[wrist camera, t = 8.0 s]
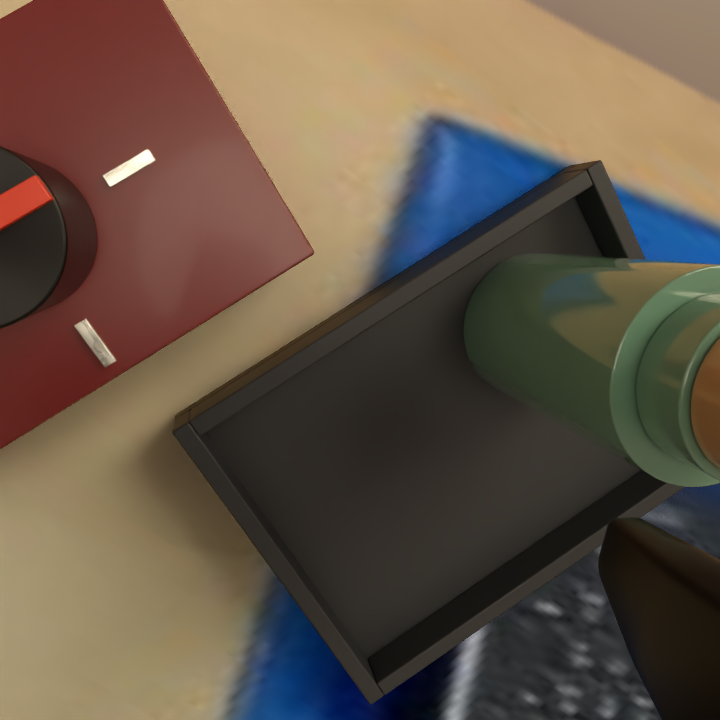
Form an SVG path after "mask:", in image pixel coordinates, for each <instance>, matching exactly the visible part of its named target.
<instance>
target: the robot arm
mask: <svg viewBox="0 0 720 720" xmlns="http://www.w3.org/2000/svg"><path fill="white" fill-rule="evenodd" d="M598 567H599V574H600V578H601V581H602V583H603V586H604V588H605V591H606V594H607V596H608V599H609V601H610V604H611V607H612V609H613V612H614V614H615V617H616V620H617V622H618V625H619V627H620V630H621V633H622V635H623V638H624V640H625V643H626V646H627V648H628V651H629V653H630V656H631V658H632V660H633V663H634V665H635V667H636V669H637V671H638V673H639V676H640V678H641V680H642V682H643V684H644V686H645V687H646V689H647V691H648V693H649V695H650V697H651V699H652V701H653V703H654V705H655V707H656V709H657V711H658V712H659V714H660V716H661V718H662V720H720V560H719V559H717V558H715V557H713V556H711V555H709V554H708V553H706V552H704V551H702V550H700V549H698V548H696V547H694V546H692V545H690V544H688V543H686V542H685V541H683V540H681V539H679V538H677V537H675V536H673V535H671V534H669V533H667V532H665V531H664V530H662V529H660V528H658V527H656V526H654V525H652V524H650V523H648V522H646V521H644V520H643V519H640V518H636V517H632V518H615V519H612V520H611V521H610V522H609V523H608V526H607V529H606V533H605V537H604V541H603V544H602V548H601V552H600V556H599V562H598Z"/></svg>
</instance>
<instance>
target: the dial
mask: <svg viewBox="0 0 720 720" xmlns="http://www.w3.org/2000/svg"><path fill="white" fill-rule="evenodd" d="M96 251H97V230H96V224H95V220H94V217H93V214H92V212H91V209H90V207H89V205H88V203H87V201H86V200H85V198H84V196H83V195H82V194H81V192H80V191H79V190H78V189H77V187H76V186H75V185H74V184H73V183H72V182H71V181H70V180H69V179H68V178H66V177H65V176H64V175H63V174H61V173H60V172H58V171H57V170H55V169H54V168H52V167H50V166H48V165H46V164H44V163H42V162H39V161H37V160H34V159H32V158H29V157H27V156H24V155H22V154H19V153H17V152H14V151H12V150H9V149H7V148H4V147H2V146H0V329H2V328H5V327H7V326H10V325H13V324H15V323H17V322H20V321H22V320H24V319H26V318H28V317H30V316H32V315H34V314H36V313H39V312H41V311H43V310H45V309H47V308H49V307H51V306H53V305H55V304H57V303H59V302H61V301H63V300H65V299H66V298H67V297H69V296H70V295H72V294H73V293H74V292H75V291H76V290H77V289H78V288H79V287H80V286H81V285H82V283H83V282H84V281H85V279H86V278H87V276H88V274H89V273H90V271H91V268H92V266H93V264H94V260H95V256H96Z"/></svg>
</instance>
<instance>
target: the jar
mask: <svg viewBox="0 0 720 720" xmlns="http://www.w3.org/2000/svg"><path fill="white" fill-rule="evenodd" d="M464 342H465V347H466V351H467V354H468V357H469V359H470V362H471V364H472V366H473V367H474V369H475V370H476V372H477V373H478V374H479V376H480V377H481V378H482V379H483V380H484V381H485V382H486V383H488V384H489V385H490V386H492V387H493V388H495V389H496V390H498V391H500V392H502V393H503V394H505V395H507V396H509V397H510V398H512V399H514V400H516V401H518V402H519V403H521V404H523V405H525V406H527V407H528V408H530V409H532V410H534V411H536V412H537V413H539V414H541V415H543V416H545V417H546V418H548V419H550V420H552V421H554V422H555V423H557V424H559V425H561V426H562V427H564V428H566V429H568V430H570V431H571V432H573V433H575V434H577V435H579V436H580V437H582V438H584V439H586V440H588V441H589V442H591V443H593V444H595V445H597V446H598V447H600V448H602V449H604V450H606V451H607V452H609V453H611V454H613V455H615V456H616V457H618V458H620V459H622V460H623V461H625V462H627V463H629V464H631V465H632V466H634V467H636V468H638V469H640V470H641V471H643V472H645V473H647V474H649V475H650V476H652V477H654V478H656V479H658V480H661V481H663V482H665V483H669V484H673V485H677V486H685V487H700V486H708V485H713V484H717V483H720V264H705V263H690V262H675V261H660V260H645V259H630V258H615V257H600V256H585V255H570V254H555V253H538V252H534V253H525V254H521V255H517V256H514V257H512V258H509V259H507V260H505V261H503V262H502V263H500V264H498V265H497V266H496V267H494V268H493V269H492V270H491V271H490V272H489V273H488V274H487V275H486V276H485V277H484V278H483V279H482V280H481V282H480V283H479V284H478V286H477V287H476V289H475V290H474V292H473V294H472V296H471V298H470V301H469V303H468V306H467V309H466V314H465V319H464Z"/></svg>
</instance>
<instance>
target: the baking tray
mask: <svg viewBox="0 0 720 720" xmlns="http://www.w3.org/2000/svg"><path fill="white" fill-rule="evenodd" d="M534 252H538V253H555V254H570V255H585V256H600V257H615V258H630V259H645V257H644V255H643V253H642V250H641V248H640V246H639V244H638V242H637V239H636V237H635V235H634V233H633V230H632V228H631V226H630V224H629V221H628V219H627V217H626V215H625V212H624V210H623V208H622V206H621V204H620V201H619V199H618V197H617V195H616V192H615V190H614V188H613V186H612V183H611V181H610V179H609V177H608V175H607V172H606V170H605V168H604V166H603V163H602V161H601V160H599V161H593V162H588V163H582V164H577V165H570V166H568V167H567V168H565V169H563V170H562V171H560V172H559V173H557V174H555V175H554V176H552V177H551V178H549V179H548V180H546V181H544V182H543V183H541V184H540V185H538V186H537V187H535V188H533V189H532V190H530V191H529V192H527V193H525V194H524V195H522V196H521V197H519V198H518V199H516V200H514V201H513V202H511V203H510V204H508V205H507V206H505V207H503V208H502V209H500V210H499V211H497V212H496V213H494V214H492V215H491V216H489V217H488V218H486V219H484V220H483V221H481V222H480V223H478V224H477V225H475V226H473V227H472V228H470V229H469V230H467V231H466V232H464V233H462V234H461V235H459V236H458V237H456V238H454V239H453V240H451V241H450V242H448V243H447V244H445V245H443V246H442V247H440V248H439V249H437V250H436V251H434V252H432V253H431V254H429V255H428V256H426V257H424V258H423V259H421V260H420V261H418V262H417V263H415V264H413V265H412V266H410V267H409V268H407V269H406V270H404V271H402V272H401V273H399V274H398V275H396V276H395V277H393V278H391V279H390V280H388V281H387V282H385V283H383V284H382V285H380V286H379V287H377V288H376V289H374V290H372V291H371V292H369V293H368V294H366V295H365V296H363V297H361V298H360V299H358V300H357V301H355V302H353V303H352V304H350V305H349V306H347V307H346V308H344V309H342V310H341V311H339V312H338V313H336V314H335V315H333V316H331V317H330V318H328V319H327V320H325V321H323V322H322V323H320V324H319V325H317V326H316V327H314V328H312V329H311V330H309V331H308V332H306V333H305V334H303V335H301V336H300V337H298V338H297V339H295V340H294V341H292V342H290V343H289V344H287V345H286V346H284V347H282V348H281V349H279V350H278V351H276V352H275V353H273V354H271V355H270V356H268V357H267V358H265V359H264V360H262V361H260V362H259V363H257V364H256V365H254V366H252V367H251V368H249V369H248V370H246V371H245V372H243V373H241V374H240V375H238V376H237V377H235V378H234V379H232V380H230V381H229V382H227V383H226V384H224V385H222V386H221V387H219V388H218V389H216V390H215V391H213V392H211V393H210V394H208V395H207V396H205V397H204V398H202V399H200V400H199V401H197V402H196V403H194V404H193V405H191V406H189V407H188V408H186V409H185V410H183V411H181V412H180V413H178V414H177V415H176V416H175V422H174V427H173V435H174V436H175V437H176V439H177V440H178V441H179V443H180V444H181V446H182V447H183V448H184V450H185V451H186V452H187V454H188V455H189V457H190V458H191V459H192V461H193V462H194V463H195V465H196V466H197V467H198V469H199V470H200V472H201V473H202V474H203V476H204V477H205V478H206V480H207V481H208V483H209V484H210V485H211V487H212V488H213V489H214V491H215V492H216V494H217V495H218V496H219V498H220V499H221V500H222V502H223V503H224V505H225V506H226V507H227V509H228V510H229V511H230V513H231V514H232V516H233V517H234V518H235V520H236V521H237V522H238V524H239V525H240V526H241V528H242V529H243V531H244V532H245V533H246V535H247V536H248V537H249V539H250V540H251V542H252V543H253V544H254V546H255V547H256V548H257V550H258V551H259V553H260V554H261V555H262V557H263V558H264V559H265V561H266V562H267V564H268V565H269V566H270V568H271V569H272V570H273V572H274V573H275V575H276V576H277V577H278V579H279V580H280V581H281V583H282V584H283V585H284V587H285V588H286V590H287V591H288V592H289V594H290V595H291V596H292V598H293V599H294V601H295V602H296V603H297V605H298V606H299V607H300V609H301V610H302V612H303V613H304V614H305V616H306V617H307V618H308V620H309V621H310V623H311V624H312V625H313V627H314V628H315V629H316V631H317V632H318V634H319V635H320V636H321V638H322V639H323V640H324V642H325V643H326V645H327V646H328V647H329V649H330V650H331V651H332V653H333V654H334V655H335V657H336V658H337V660H338V661H339V662H340V664H341V665H342V666H343V668H344V669H345V671H346V672H347V673H348V675H349V676H350V677H351V679H352V680H353V682H354V683H355V684H356V686H357V687H358V688H359V690H360V691H361V693H362V694H363V695H364V697H365V698H366V699H367V701H368V702H369V703H370V704H373V703H374V702H375V701H377V700H378V699H380V698H381V697H383V693H384V694H387V693H388V692H390V691H391V690H393V689H394V688H396V687H397V686H399V685H400V684H401V683H403V682H404V681H406V680H407V679H409V678H410V677H411V676H413V675H414V674H416V673H417V672H419V671H420V670H422V669H423V668H424V667H426V666H427V665H429V664H430V663H432V662H433V661H435V660H436V659H437V658H439V657H440V656H442V655H443V654H445V653H446V652H447V651H449V650H450V649H452V648H453V647H455V646H456V645H458V644H459V643H460V642H462V641H463V640H465V639H466V638H468V637H469V636H471V635H472V634H473V633H475V632H476V631H478V630H479V629H481V628H482V627H483V626H485V625H486V624H488V623H489V622H491V621H492V620H494V619H495V618H496V617H498V616H499V615H501V614H502V613H504V612H505V611H507V610H508V609H509V608H511V607H512V606H514V605H515V604H517V603H518V602H519V601H521V600H522V599H524V598H525V597H527V596H528V595H530V594H531V593H532V592H534V591H535V590H537V589H538V588H540V587H541V586H543V585H544V584H545V583H547V582H548V581H550V580H551V579H553V578H554V577H555V576H557V575H558V574H560V573H561V572H563V571H564V570H566V569H567V568H568V567H570V566H571V565H573V564H574V563H576V562H577V561H579V560H580V559H581V558H583V557H584V556H586V555H587V554H589V553H590V552H592V551H593V550H594V549H596V548H597V547H599V546H600V545H602V544H603V541H604V537H605V533H606V529H607V526H608V523H609V522H610V521H611V520H612V519H615V518H632V517H636V518H640V517H642V516H643V515H645V514H646V513H648V512H649V511H651V510H652V509H653V508H655V507H656V506H658V505H659V504H661V503H662V502H664V501H665V500H666V499H668V498H669V497H671V496H672V495H674V494H675V493H676V492H678V491H679V490H681V489H682V488H684V487H685V486H677V485H673V484H669V483H665V482H663V481H661V480H658V479H656V478H654V477H652V476H650V475H649V474H647V473H645V472H643V471H641V470H640V469H638V468H636V467H634V466H632V465H631V464H629V463H627V462H625V461H623V460H622V459H620V458H618V457H616V456H615V455H613V454H611V453H609V452H607V451H606V450H604V449H602V448H600V447H598V446H597V445H595V444H593V443H591V442H589V441H588V440H586V439H584V438H582V437H580V436H579V435H577V434H575V433H573V432H571V431H570V430H568V429H566V428H564V427H562V426H561V425H559V424H557V423H555V422H554V421H552V420H550V419H548V418H546V417H545V416H543V415H541V414H539V413H537V412H536V411H534V410H532V409H530V408H528V407H527V406H525V405H523V404H521V403H519V402H518V401H516V400H514V399H512V398H510V397H509V396H507V395H505V394H503V393H502V392H500V391H498V390H496V389H495V388H493V387H492V386H490V385H489V384H488V383H486V382H485V381H484V380H483V379H482V378H481V377H480V376H479V374H478V373H477V372H476V370H475V369H474V367H473V366H472V364H471V362H470V359H469V357H468V354H467V351H466V347H465V342H464V319H465V314H466V309H467V306H468V303H469V301H470V298H471V296H472V294H473V292H474V290H475V289H476V287H477V286H478V284H479V283H480V282H481V280H482V279H483V278H484V277H485V276H486V275H487V274H488V273H489V272H490V271H491V270H492V269H493V268H494V267H496V266H497V265H498V264H500V263H502V262H503V261H505V260H507V259H509V258H512V257H514V256H517V255H521V254H525V253H534ZM645 260H646V259H645Z"/></svg>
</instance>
